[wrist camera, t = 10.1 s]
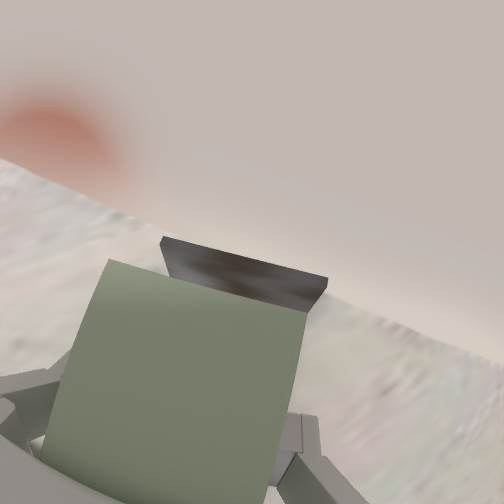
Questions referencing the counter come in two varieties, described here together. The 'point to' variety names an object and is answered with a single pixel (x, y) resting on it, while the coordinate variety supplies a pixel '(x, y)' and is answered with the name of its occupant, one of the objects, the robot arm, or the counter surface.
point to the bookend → (242, 275)
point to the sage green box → (174, 392)
